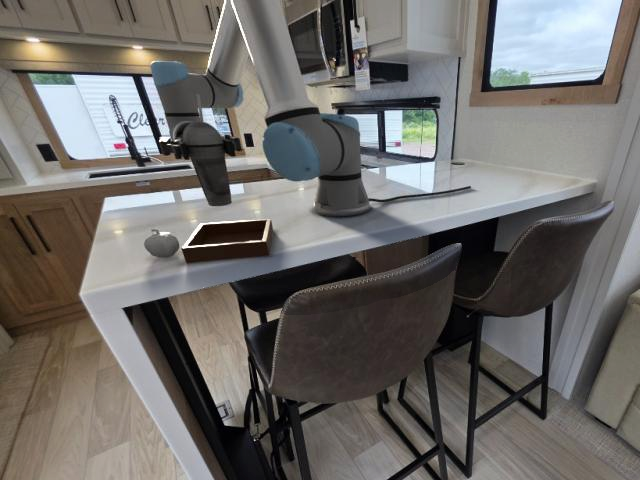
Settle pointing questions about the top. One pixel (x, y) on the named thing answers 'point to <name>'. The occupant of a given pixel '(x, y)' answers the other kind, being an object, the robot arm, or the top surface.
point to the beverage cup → (208, 160)
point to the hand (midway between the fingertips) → (209, 150)
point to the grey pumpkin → (161, 244)
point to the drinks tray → (229, 241)
